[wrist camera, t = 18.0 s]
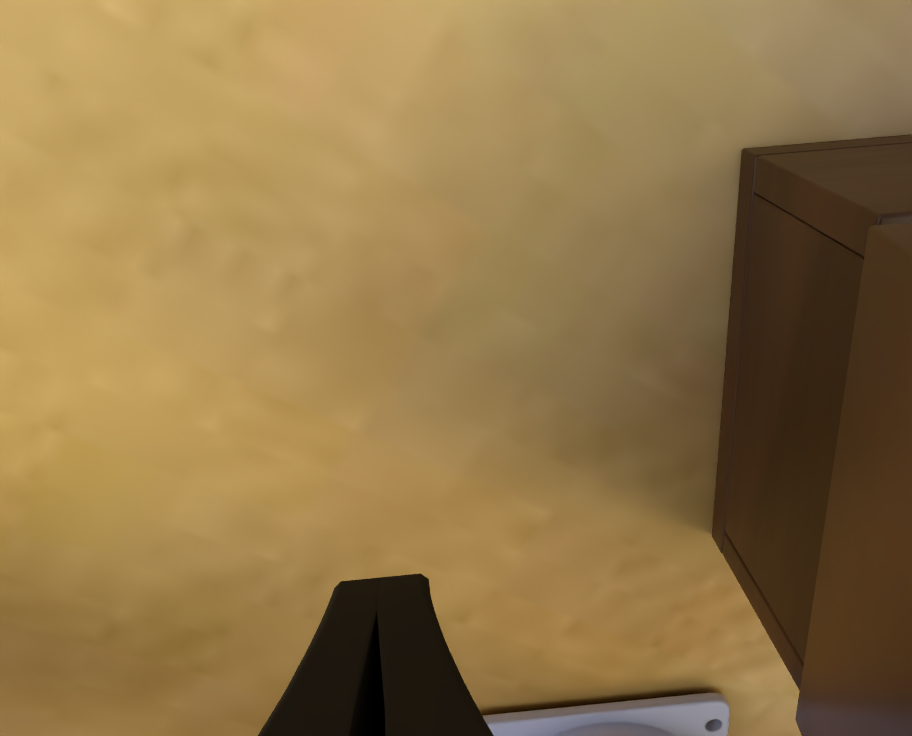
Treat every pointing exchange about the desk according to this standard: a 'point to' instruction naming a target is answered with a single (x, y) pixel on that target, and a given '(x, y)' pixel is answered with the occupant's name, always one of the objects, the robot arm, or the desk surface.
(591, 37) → the desk surface
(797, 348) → the box
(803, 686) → the lid
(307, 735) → the robot arm
